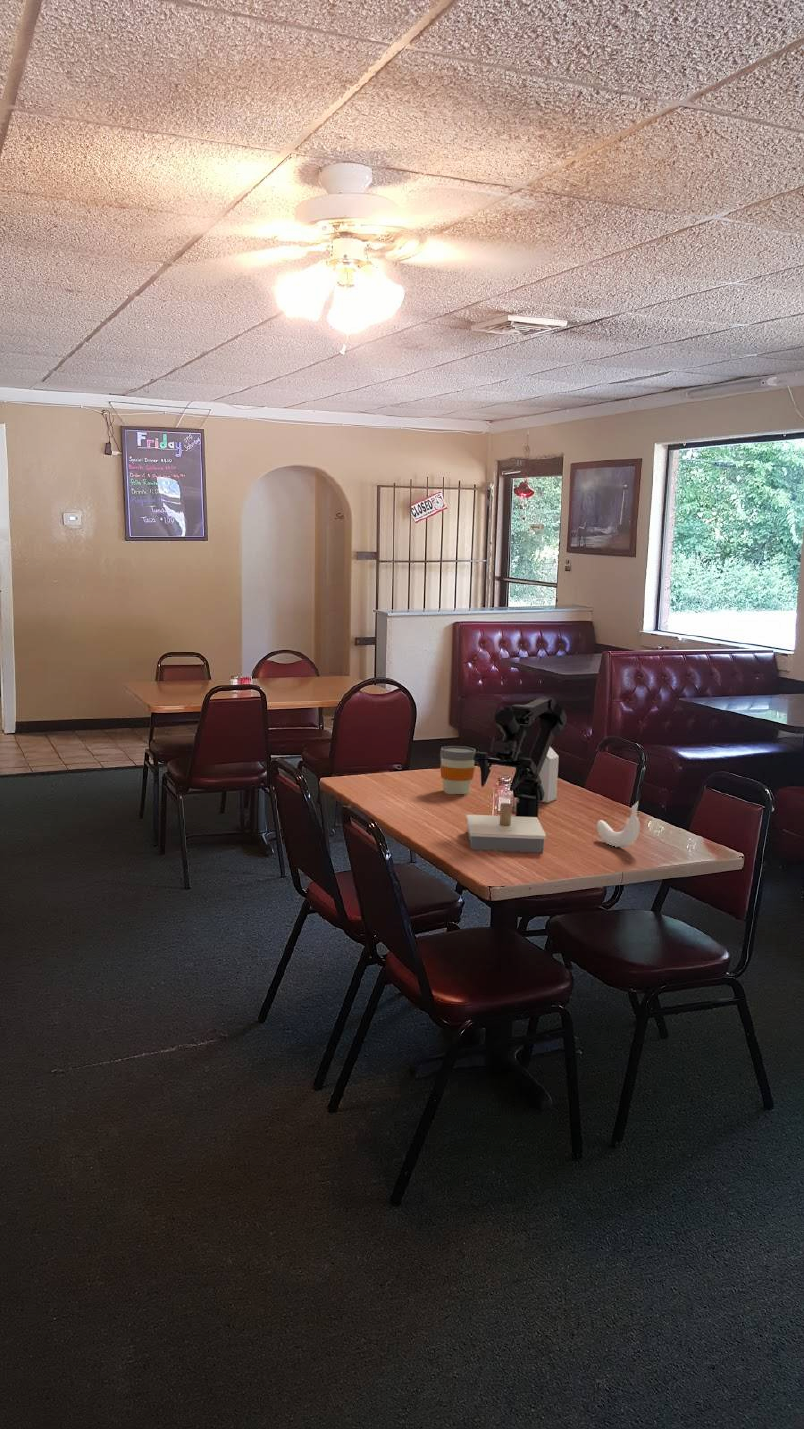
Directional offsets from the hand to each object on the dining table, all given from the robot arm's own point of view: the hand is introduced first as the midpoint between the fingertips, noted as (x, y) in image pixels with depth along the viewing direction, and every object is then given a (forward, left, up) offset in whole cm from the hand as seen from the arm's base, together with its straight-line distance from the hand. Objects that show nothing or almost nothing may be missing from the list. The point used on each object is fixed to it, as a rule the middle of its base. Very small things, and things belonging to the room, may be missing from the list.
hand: (496, 788), depth 315 cm
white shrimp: (-34, +9, -14) cm, 38 cm away
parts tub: (-2, +9, -14) cm, 16 cm away
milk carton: (-20, -47, -14) cm, 53 cm away
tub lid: (-2, +9, -11) cm, 14 cm away
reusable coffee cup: (+9, -54, -14) cm, 57 cm away
